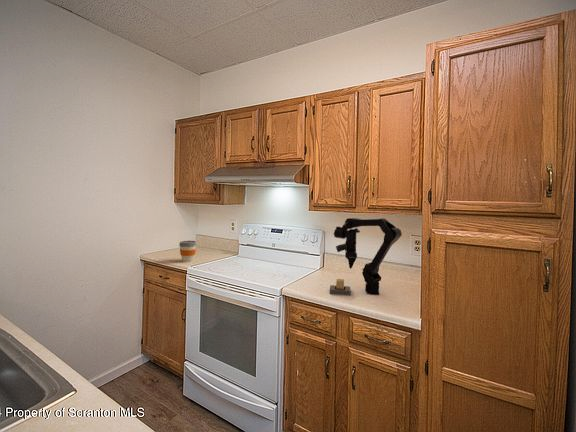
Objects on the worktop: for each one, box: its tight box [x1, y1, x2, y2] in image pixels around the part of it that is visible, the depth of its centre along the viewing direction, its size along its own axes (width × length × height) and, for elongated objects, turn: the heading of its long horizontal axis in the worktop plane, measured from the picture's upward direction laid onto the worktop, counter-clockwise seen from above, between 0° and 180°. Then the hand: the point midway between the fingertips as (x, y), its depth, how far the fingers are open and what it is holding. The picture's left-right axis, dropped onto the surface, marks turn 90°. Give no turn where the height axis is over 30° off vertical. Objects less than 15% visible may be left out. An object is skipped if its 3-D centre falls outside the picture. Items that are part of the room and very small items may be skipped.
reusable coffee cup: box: [179, 240, 197, 263], centre depth 227 cm, size 13×13×15 cm
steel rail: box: [329, 284, 351, 296], centre depth 158 cm, size 11×8×2 cm
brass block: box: [335, 278, 345, 290], centre depth 158 cm, size 4×4×7 cm
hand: (350, 266), depth 167 cm, fingers open, 9 cm apart
